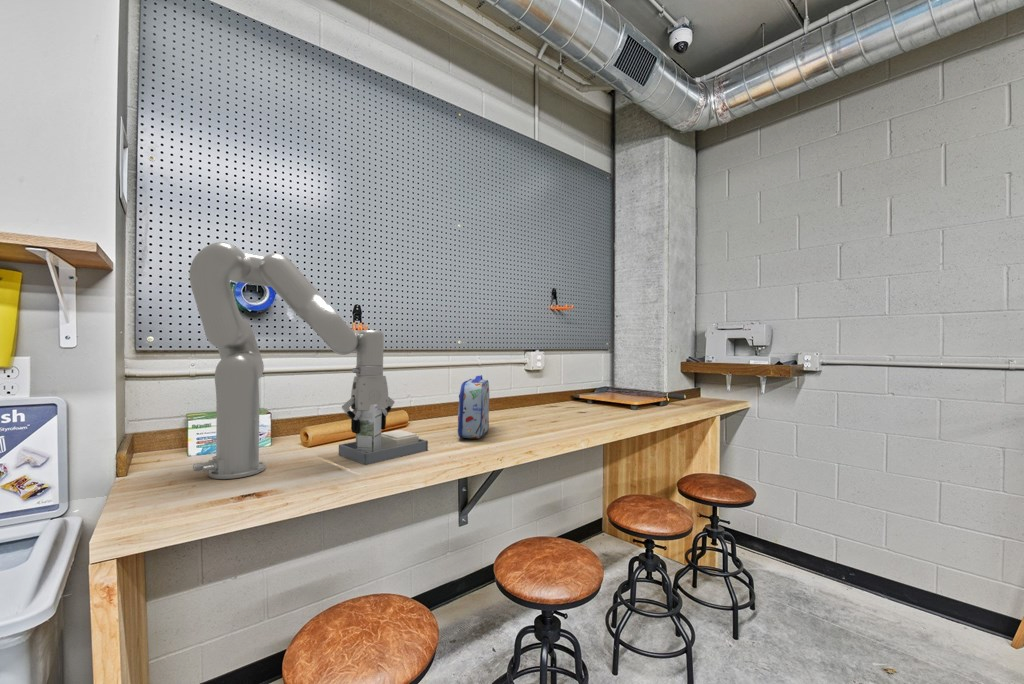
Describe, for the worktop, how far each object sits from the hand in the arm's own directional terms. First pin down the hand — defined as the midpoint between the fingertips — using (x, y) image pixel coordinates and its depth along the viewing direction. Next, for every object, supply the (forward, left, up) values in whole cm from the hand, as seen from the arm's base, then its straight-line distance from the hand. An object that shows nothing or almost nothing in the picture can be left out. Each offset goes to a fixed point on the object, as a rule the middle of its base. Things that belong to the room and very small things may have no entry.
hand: (368, 430), depth 125 cm
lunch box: (+45, +2, -9) cm, 46 cm away
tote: (+5, 0, -9) cm, 10 cm away
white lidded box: (+10, 0, -8) cm, 13 cm away
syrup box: (0, 0, -6) cm, 6 cm away
